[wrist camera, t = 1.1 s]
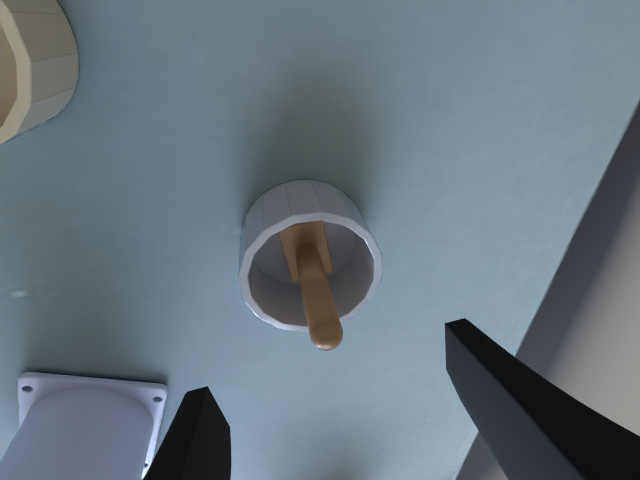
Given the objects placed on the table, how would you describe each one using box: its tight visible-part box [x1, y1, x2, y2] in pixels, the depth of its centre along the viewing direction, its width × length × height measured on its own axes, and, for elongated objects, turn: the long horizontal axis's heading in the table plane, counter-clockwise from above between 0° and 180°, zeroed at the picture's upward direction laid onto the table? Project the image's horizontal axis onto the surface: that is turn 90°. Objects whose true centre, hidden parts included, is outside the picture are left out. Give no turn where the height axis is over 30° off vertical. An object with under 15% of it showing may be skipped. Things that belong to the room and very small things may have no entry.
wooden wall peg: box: [278, 220, 343, 351], centre depth 16 cm, size 3×2×7 cm
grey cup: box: [238, 180, 383, 332], centre depth 18 cm, size 6×6×4 cm
